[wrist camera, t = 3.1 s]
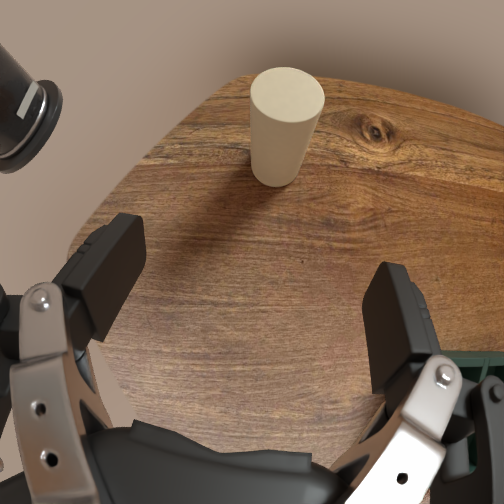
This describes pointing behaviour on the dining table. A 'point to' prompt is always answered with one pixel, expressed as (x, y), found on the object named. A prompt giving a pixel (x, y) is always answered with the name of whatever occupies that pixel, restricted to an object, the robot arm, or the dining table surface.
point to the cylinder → (282, 122)
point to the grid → (476, 380)
